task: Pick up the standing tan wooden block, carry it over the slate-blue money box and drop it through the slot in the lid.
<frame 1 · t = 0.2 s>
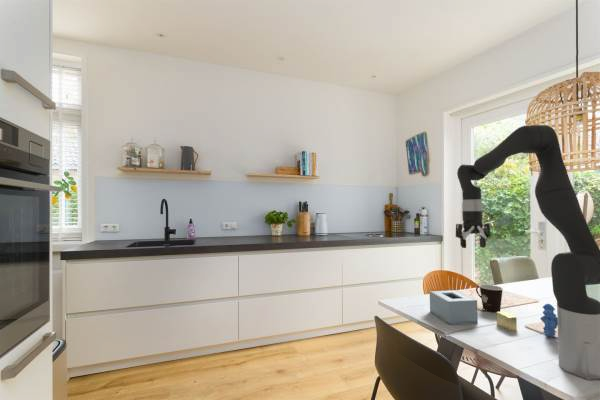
hand: (473, 247, 128), 28 cm above the table, fingers open, 8 cm apart
coffee mug: (490, 309, 132), on the table
tan wooden block: (506, 327, 112), on the table
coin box: (452, 317, 123), on the table
grapes: (553, 338, 103), on the table
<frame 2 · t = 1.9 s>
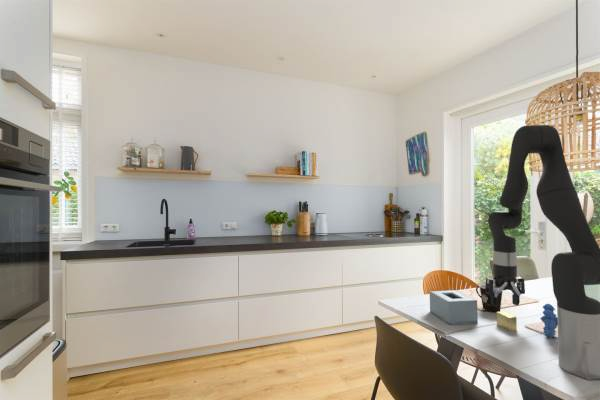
hand: (505, 305, 113), 8 cm above the table, fingers open, 8 cm apart
nothing on the table moved.
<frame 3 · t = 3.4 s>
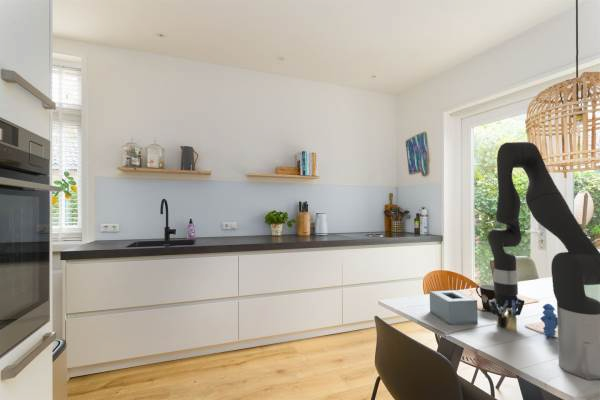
hand: (506, 326, 112), 0 cm above the table, fingers open, 3 cm apart
tan wooden block: (506, 327, 112), on the table, touching gripper
everything else where it was.
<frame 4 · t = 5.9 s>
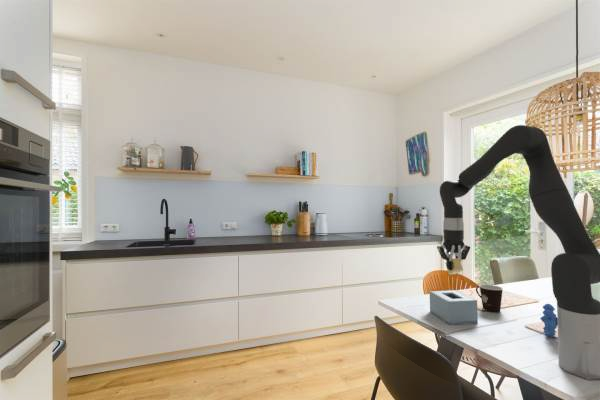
hand: (453, 269, 124), 20 cm above the table, fingers closed on tan wooden block, 2 cm apart
tan wooden block: (455, 272, 122), point 19 cm above the table, tilted 29°, touching gripper
everything else where it was.
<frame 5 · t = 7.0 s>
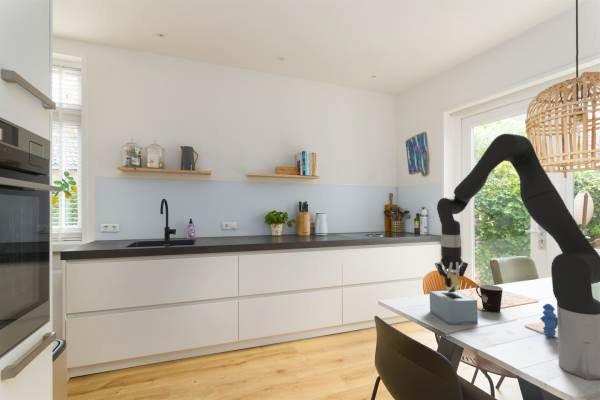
hand: (451, 286, 123), 13 cm above the table, fingers closed on tan wooden block, 2 cm apart
tan wooden block: (454, 288, 122), point 12 cm above the table, tilted 42°, touching gripper
everything else where it was.
when the fingers open (9 cm above the table, at t = 8.2 s): tan wooden block drops 6 cm and tips over, resting on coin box.
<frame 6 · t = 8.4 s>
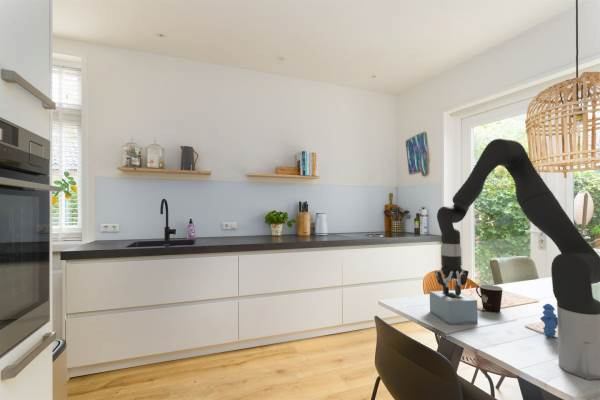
hand: (452, 294, 123), 9 cm above the table, fingers open, 4 cm apart
tan wooden block: (454, 312, 122), point 2 cm above the table, tilted 35°, touching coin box
everything else where it was.
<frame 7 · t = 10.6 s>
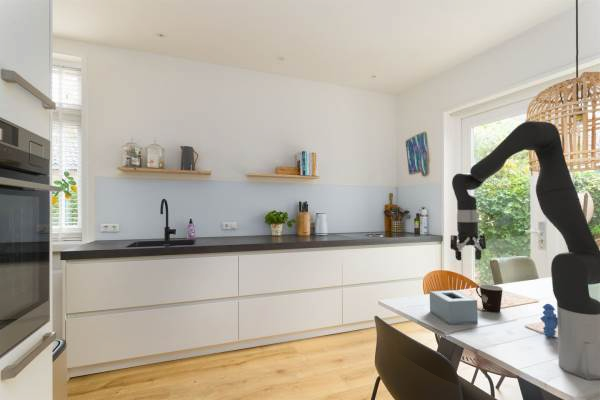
hand: (468, 259, 123), 24 cm above the table, fingers open, 8 cm apart
tan wooden block: (455, 317, 121), point 1 cm above the table, touching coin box
everything else where it was.
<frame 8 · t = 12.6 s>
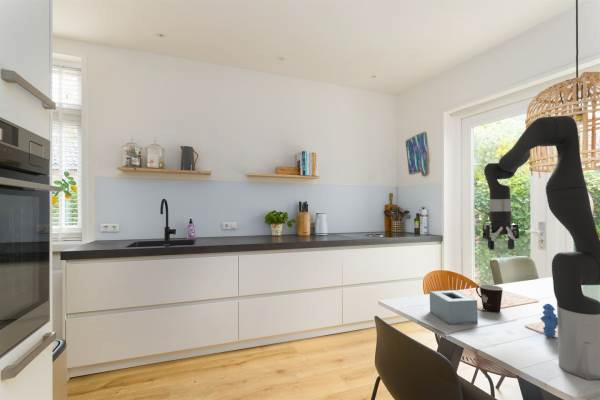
hand: (501, 249, 122), 28 cm above the table, fingers open, 8 cm apart
nothing on the table moved.
at the end: tan wooden block inside the target area on the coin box (2.1 cm from its centre), point 0.8 cm above the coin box's base; the gripper is holding nothing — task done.
